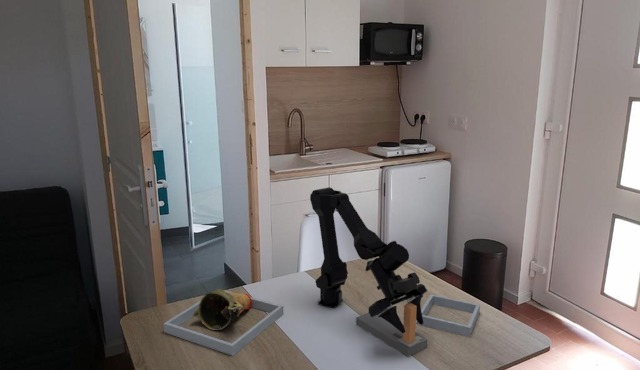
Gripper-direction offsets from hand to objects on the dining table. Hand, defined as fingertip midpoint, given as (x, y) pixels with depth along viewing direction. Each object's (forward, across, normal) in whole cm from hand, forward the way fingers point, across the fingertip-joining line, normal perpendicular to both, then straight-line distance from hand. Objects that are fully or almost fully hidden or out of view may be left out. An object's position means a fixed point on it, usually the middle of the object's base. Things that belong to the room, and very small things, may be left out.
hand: (413, 328), depth 129 cm
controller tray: (+1, +23, +10) cm, 25 cm away
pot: (-28, -34, +39) cm, 58 cm away
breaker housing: (-2, +2, +12) cm, 13 cm away
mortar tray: (-27, -34, +38) cm, 58 cm away
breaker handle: (+2, 0, +4) cm, 5 cm away
